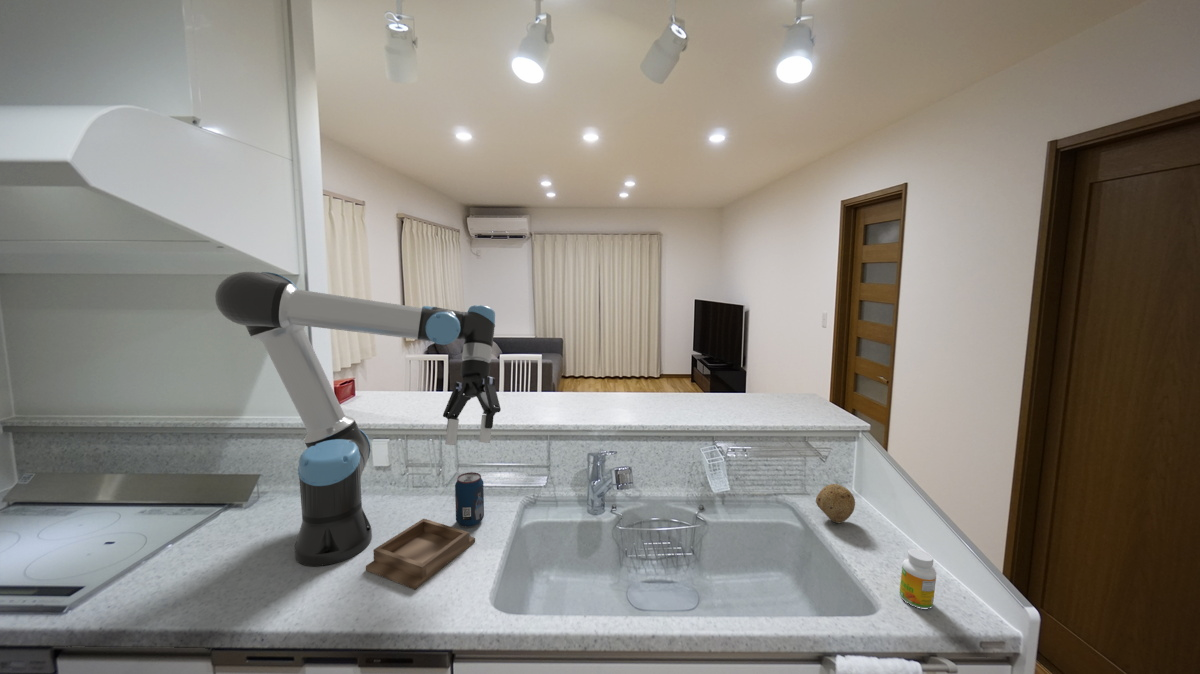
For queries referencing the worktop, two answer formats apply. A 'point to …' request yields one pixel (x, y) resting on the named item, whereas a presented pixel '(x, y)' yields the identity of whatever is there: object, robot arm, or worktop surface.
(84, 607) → the worktop surface
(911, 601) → the supplement bottle
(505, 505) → the worktop surface
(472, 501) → the soda can
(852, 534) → the worktop surface
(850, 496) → the brown rounded lump
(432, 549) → the wooden tray
